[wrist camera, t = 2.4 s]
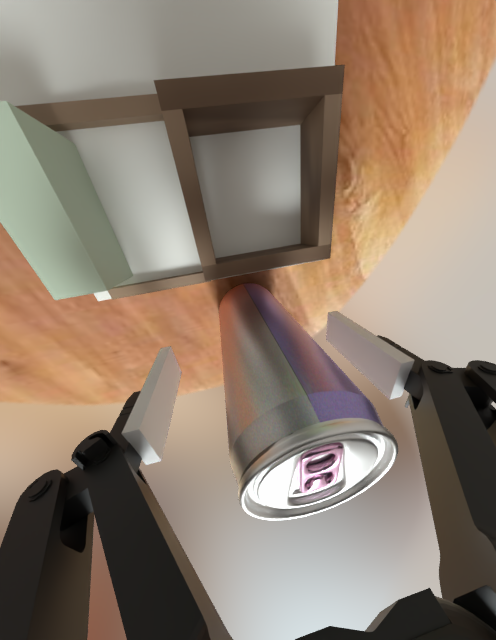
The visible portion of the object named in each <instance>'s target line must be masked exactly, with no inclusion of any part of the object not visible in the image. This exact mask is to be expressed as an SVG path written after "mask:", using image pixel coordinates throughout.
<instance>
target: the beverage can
mask: <svg viewBox="0 0 496 640" xmlns="http://www.w3.org/2000/svg"><path fill="white" fill-rule="evenodd" d="M219 319H220V333H221V347H222V361H223V375H224V388H225V402H226V416H227V429H228V444H229V457H230V465H231V468H232V471H233V473H234V476H235V478H236V481H237V484H238V486H239V488H238V498H239V502H240V505H241V507H242V509H243V510H244V511H245V512H246V513H247V514H249V515H251V516H253V517H255V518H259V519H264V520H287V519H294V518H299V517H304V516H308V515H311V514H315V513H318V512H321V511H324V510H327V509H330V508H332V507H334V506H337V505H339V504H341V503H344V502H346V501H348V500H350V499H351V498H353V497H355V496H357V495H358V494H360V493H362V492H363V491H365V490H366V489H368V488H369V487H371V486H372V485H373V484H374V483H376V482H377V481H378V480H379V479H381V478H382V477H383V476H384V475H385V474H386V472H387V471H388V470H389V469H390V468H391V466H392V465H393V463H394V461H395V459H396V457H397V454H398V445H397V441H396V440H395V438H394V436H393V435H392V434H391V433H390V431H388V429H386V428H385V427H384V426H383V424H382V422H381V420H380V418H379V416H378V413H377V411H376V409H375V407H374V406H373V404H372V403H371V402H370V401H369V400H368V399H367V398H366V396H365V395H364V394H363V393H362V392H361V391H360V390H359V389H358V388H357V386H356V385H355V384H354V383H353V382H352V381H351V380H350V379H349V378H348V377H347V376H346V375H345V373H344V372H343V371H342V370H341V369H340V368H339V367H338V366H337V365H336V364H335V363H334V361H333V360H332V359H331V358H330V357H329V356H328V355H327V354H326V353H325V352H324V351H323V349H322V348H321V347H320V346H319V345H318V344H317V343H316V342H315V341H314V340H313V339H312V337H311V336H310V335H309V334H308V333H307V332H306V331H305V330H304V329H303V328H302V327H301V326H300V324H299V323H298V322H297V321H296V320H295V319H294V318H293V317H292V316H291V315H290V314H289V312H288V311H287V310H286V309H285V308H284V307H283V306H282V305H281V304H280V303H279V302H278V300H277V299H276V298H275V297H274V296H273V295H272V294H271V293H270V292H269V291H268V290H267V289H266V288H264V287H263V286H260V285H258V284H253V283H246V284H241V285H238V286H236V287H234V288H232V289H231V290H230V291H228V292H227V293H226V295H225V296H224V297H223V299H222V301H221V303H220V307H219Z"/></svg>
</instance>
